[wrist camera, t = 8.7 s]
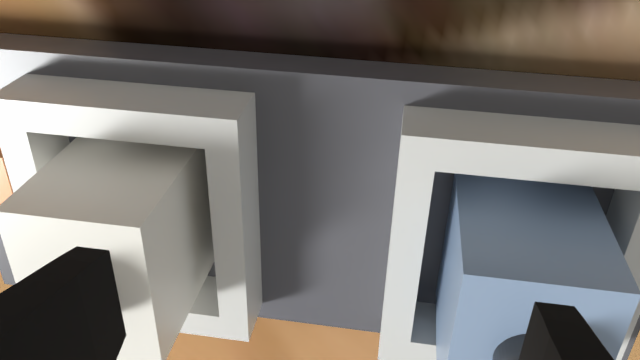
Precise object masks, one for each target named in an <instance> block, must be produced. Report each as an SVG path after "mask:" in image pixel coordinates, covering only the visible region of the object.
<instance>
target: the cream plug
mask: <svg viewBox="0 0 640 360" xmlns="http://www.w3.org/2000/svg"><path fill="white" fill-rule="evenodd" d="M0 235H1V238H2V241H3V245H4V248H5V251H6V254H7V257H8V260H9V264H10V267H11V270H12V273H13V276H14V280H15V283H18V282H19V281H21V280H22V279H24V278H25V277H27V276H29V275H30V274H32V273H33V272H35V271H37V270H38V269H40V268H41V267H43V266H44V265H46V264H48V263H49V262H51V261H53V260H54V259H56V258H57V257H59V256H61V255H62V254H64V253H66V252H68V251H69V250H71V249H73V248H75V247H76V246H78V247H87V248H95V249H103V250H109V251H110V256H111V261H112V266H113V271H114V276H115V281H116V286H117V291H118V296H119V301H120V306H121V311H122V316H123V321H124V326H125V331H126V338H125V340H124V342H123V345H122V347H121V350H120V352H119V355H118V357H117V360H166V359H167V357H168V355H169V352H170V350H171V348H172V346H173V344H174V342H175V340H176V338H177V336H178V334H179V332H180V330H181V328H182V326H183V324H184V322H185V320H186V318H187V316H188V314H189V312H190V310H191V308H192V306H193V304H194V302H195V300H196V298H197V296H198V294H199V291H200V289H201V287H202V285H203V283H204V281H205V279H206V277H207V275H208V273H209V271H210V269H211V267H212V265H213V263H214V250H213V238H212V227H211V215H210V204H209V192H208V181H207V169H206V157H205V149H198V148H187V147H177V146H167V145H156V144H146V143H136V142H125V141H115V140H105V139H94V138H84V137H76V138H75V139H74V140H73V141H72V142H71V143H70V144H69V145H67V146H66V147H65V148H64V149H63V150H62V151H61V152H59V153H58V154H57V155H56V156H55V157H54V158H53V159H52V160H50V161H49V162H48V163H47V164H46V165H45V166H44V167H42V168H41V169H40V170H39V171H38V172H37V173H36V174H35V175H33V176H32V177H31V178H30V179H29V180H28V181H27V182H25V183H24V184H23V185H22V186H21V187H20V188H19V189H18V190H16V191H15V192H14V193H13V194H12V195H11V196H10V197H8V198H7V199H6V200H5V201H4V202H3V203H2V204H1V205H0Z"/></svg>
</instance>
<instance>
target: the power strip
mask: <svg viewBox="0 0 640 360" xmlns="http://www.w3.org/2000/svg"><path fill="white" fill-rule="evenodd" d="M76 137H84V138H94V139H105V140H115V141H125V142H136V143H146V144H156V145H167V146H177V147H187V148H198V149H205V157H206V169H207V181H208V192H209V204H210V215H211V227H212V238H213V250H214V263H213V265H212V267H211V269H210V271H209V273H208V275H207V277H206V279H205V281H204V283H203V285H202V287H201V289H200V291H199V294H198V296H197V298H196V300H195V302H194V304H193V306H192V308H191V310H190V312H189V314H188V316H187V318H186V320H185V322H184V324H183V326H182V328H181V330H180V333H187V334H195V335H202V336H209V337H217V338H224V339H231V340H239V341H246V342H249V340H250V337H251V334H252V331H253V329H254V326H255V323H256V320H257V317H263V318H271V319H279V320H286V321H294V322H302V323H309V324H317V325H325V326H332V327H340V328H348V329H355V330H363V331H371V332H378V333H380V341H379V352H378V360H437V359H436V300H435V293H436V287H437V280H438V274H439V268H440V262H441V255H442V249H443V243H444V237H445V231H446V224H447V218H448V212H449V206H450V199H451V193H452V187H453V181H454V175H455V173H456V174H467V175H477V176H487V177H498V178H508V179H519V180H529V181H539V182H550V183H560V184H570V185H581V186H591V187H592V188H593V190H594V192H595V194H596V196H597V199H598V201H599V203H600V205H601V207H602V210H603V212H604V214H605V216H606V218H607V220H608V223H609V225H610V227H611V229H612V231H613V234H614V236H615V238H616V240H617V242H618V244H619V247H620V249H621V251H622V253H623V255H624V258H625V260H626V262H627V264H628V266H629V268H630V271H631V273H632V275H633V277H634V279H635V281H636V284H637V286H638V288H639V290H640V81H632V80H618V79H605V78H592V77H579V76H565V75H552V74H539V73H525V72H512V71H499V70H486V69H472V68H459V67H446V66H433V65H419V64H406V63H393V62H380V61H366V60H353V59H340V58H326V57H313V56H300V55H287V54H273V53H260V52H247V51H234V50H220V49H207V48H194V47H181V46H167V45H154V44H141V43H127V42H114V41H101V40H88V39H74V38H61V37H48V36H35V35H21V34H8V33H0V205H1V204H2V203H3V202H4V201H5V200H6V199H7V198H8V197H10V196H11V195H12V194H13V193H14V192H15V191H16V190H18V189H19V188H20V187H21V186H22V185H23V184H24V183H25V182H27V181H28V180H29V179H30V178H31V177H32V176H33V175H35V174H36V173H37V172H38V171H39V170H40V169H41V168H42V167H44V166H45V165H46V164H47V163H48V162H49V161H50V160H52V159H53V158H54V157H55V156H56V155H57V154H58V153H59V152H61V151H62V150H63V149H64V148H65V147H66V146H67V145H69V144H70V143H71V142H72V141H73V140H74V139H75V138H76ZM0 271H1V275H2V278H3V281H4V284H10V285H14V284H16V283H15V280H14V276H13V273H12V270H11V267H10V264H9V260H8V257H7V254H6V251H5V248H4V245H3V241H2V238H1V235H0ZM639 330H640V300H639V302H638V305H637V308H636V310H635V313H634V315H633V318H632V320H631V323H630V325H629V328H628V330H627V333H626V335H625V338H624V340H623V343H622V345H621V348H620V350H619V353H618V355H617V358H616V360H627V359H628V356H629V354H630V352H631V349H632V347H633V344H634V342H635V340H636V337H637V335H638V332H639Z"/></svg>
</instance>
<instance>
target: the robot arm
mask: <svg viewBox="0 0 640 360" xmlns="http://www.w3.org/2000/svg"><path fill="white" fill-rule="evenodd" d="M125 338H126V331H125V326H124V321H123V316H122V311H121V306H120V301H119V296H118V291H117V286H116V281H115V276H114V271H113V266H112V261H111V256H110V251H109V250H103V249H95V248H87V247H78V246H76V247H75V248H73V249H71V250H69V251H68V252H66V253H64V254H62V255H61V256H59V257H57V258H56V259H54V260H53V261H51V262H49V263H48V264H46V265H44V266H43V267H41V268H40V269H38V270H37V271H35V272H33V273H32V274H30V275H29V276H27V277H25V278H24V279H22V280H21V281H19V282H18V283H16V284H14V285H13V286H11V287H10V288H8V289H7V290H5V291H3V292H2V293H0V360H117V357H118V355H119V352H120V350H121V347H122V345H123V342H124V340H125ZM519 360H614V359H613V358H612V356H611V355H610V353H609V352H608V351H607V349H606V348H605V347H604V345H603V344H602V342H601V341H600V340H599V338H598V337H597V336H596V334H595V333H594V331H593V330H592V329H591V327H590V326H589V325H588V323H587V322H586V321H585V319H584V318H583V316H582V315H581V314H580V312H579V311H578V310H577V309H576V307H575V306H569V305H560V304H552V303H544V302H535V303H534V306H533V310H532V313H531V317H530V320H529V324H528V328H527V331H526V335H525V338H524V342H523V345H522V349H521V353H520V356H519Z"/></svg>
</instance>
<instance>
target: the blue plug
mask: <svg viewBox="0 0 640 360" xmlns="http://www.w3.org/2000/svg"><path fill="white" fill-rule="evenodd" d="M435 300H436V359H437V360H519V356H520V353H521V349H522V345H523V342H524V338H525V335H526V331H527V328H528V324H529V320H530V317H531V313H532V310H533V306H534V303H535V302H544V303H552V304H560V305H569V306H575V307H576V309H577V310H578V311H579V312H580V314H581V315H582V316H583V318H584V319H585V321H586V322H587V323H588V325H589V326H590V327H591V329H592V330H593V331H594V333H595V334H596V336H597V337H598V338H599V340H600V341H601V342H602V344H603V345H604V347H605V348H606V349H607V351H608V352H609V353H610V355H611V356H612V358H613V359H614V360H616V358H617V355H618V353H619V350H620V348H621V345H622V343H623V340H624V338H625V335H626V333H627V330H628V328H629V325H630V323H631V320H632V318H633V315H634V313H635V310H636V308H637V305H638V302H639V300H640V290H639V288H638V286H637V284H636V281H635V279H634V277H633V275H632V273H631V271H630V268H629V266H628V264H627V262H626V260H625V258H624V255H623V253H622V251H621V249H620V247H619V244H618V242H617V240H616V238H615V236H614V234H613V231H612V229H611V227H610V225H609V223H608V220H607V218H606V216H605V214H604V212H603V210H602V207H601V205H600V203H599V201H598V199H597V196H596V194H595V192H594V190H593V188H592V187H591V186H581V185H570V184H560V183H550V182H539V181H529V180H519V179H508V178H498V177H487V176H477V175H467V174H456V173H455V175H454V181H453V187H452V193H451V199H450V206H449V212H448V218H447V224H446V231H445V237H444V243H443V249H442V255H441V262H440V268H439V274H438V280H437V287H436V293H435Z"/></svg>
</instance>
